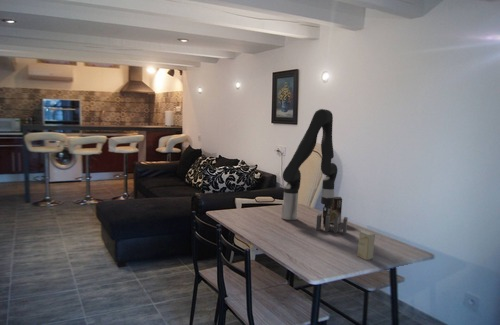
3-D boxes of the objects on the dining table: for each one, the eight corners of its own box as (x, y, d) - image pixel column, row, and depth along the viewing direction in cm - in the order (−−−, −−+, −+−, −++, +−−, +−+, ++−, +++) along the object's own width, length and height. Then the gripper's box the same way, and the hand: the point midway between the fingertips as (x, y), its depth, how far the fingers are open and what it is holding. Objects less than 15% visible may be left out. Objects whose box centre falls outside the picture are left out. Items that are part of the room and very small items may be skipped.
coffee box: (339, 221, 249) (341, 196, 248) (340, 223, 243) (342, 198, 241) (325, 220, 250) (326, 195, 249) (326, 222, 244) (327, 197, 242)
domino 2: (323, 227, 233) (324, 212, 232) (324, 225, 238) (325, 211, 237) (326, 227, 232) (327, 213, 231) (327, 225, 237) (328, 211, 236)
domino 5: (342, 234, 220) (343, 218, 219) (343, 232, 224) (344, 216, 224) (345, 234, 219) (346, 219, 218) (346, 232, 224) (347, 217, 223)
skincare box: (356, 255, 184) (358, 231, 183) (364, 254, 186) (366, 230, 185) (366, 260, 179) (368, 234, 177) (373, 259, 181) (375, 233, 179)
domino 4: (333, 233, 222) (334, 217, 221) (334, 230, 226) (335, 215, 225) (336, 233, 221) (337, 218, 220) (337, 231, 226) (338, 216, 225)
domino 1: (316, 230, 225) (317, 215, 224) (317, 228, 230) (318, 213, 229) (319, 231, 224) (320, 215, 223) (320, 228, 229) (321, 214, 228)
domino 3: (324, 231, 223) (325, 216, 222) (326, 229, 228) (327, 214, 227) (327, 232, 223) (328, 217, 222) (329, 230, 227) (330, 215, 226)
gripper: (323, 193, 241) (321, 219, 243) (319, 197, 228) (317, 224, 229) (335, 194, 238) (334, 220, 240) (332, 198, 225) (330, 226, 227)
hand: (326, 222), depth 235 cm, fingers open, 8 cm apart
